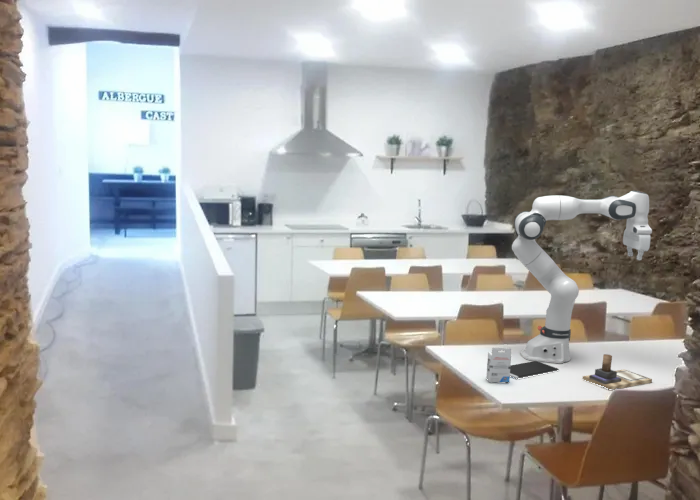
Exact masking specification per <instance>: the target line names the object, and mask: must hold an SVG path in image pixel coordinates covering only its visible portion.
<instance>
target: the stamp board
mask: <svg viewBox="0 0 700 500" xmlns="http://www.w3.org/2000/svg"><path fill="white" fill-rule="evenodd" d="M615 371H616V372H617V376H616V378H612V379H607V380H606V379H604V378H601V377H599V376H596V375H595V373H594V374H588V375H582V379H584V380H586V381H585V382H587V381H589V382H592V383H595V384H598V385H601V386H604V387H606V388H608V389H615V390H617V389H616V388H620V389H625V388H626V389H627V388H629V387H630V388H631V387H635V386H641V385H646V384H652V383H653V379H652V378H651V377H647V376H644V375H641V374H639V373H636V372H633V371H630V370H629V369H617V370H615ZM582 379H581V380H582ZM584 380H583V381H584ZM589 382H588V383H589ZM592 383H591V384H592Z"/></svg>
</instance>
